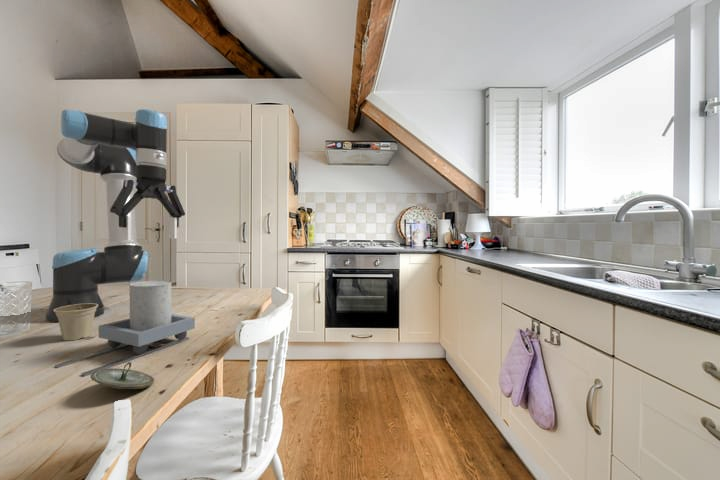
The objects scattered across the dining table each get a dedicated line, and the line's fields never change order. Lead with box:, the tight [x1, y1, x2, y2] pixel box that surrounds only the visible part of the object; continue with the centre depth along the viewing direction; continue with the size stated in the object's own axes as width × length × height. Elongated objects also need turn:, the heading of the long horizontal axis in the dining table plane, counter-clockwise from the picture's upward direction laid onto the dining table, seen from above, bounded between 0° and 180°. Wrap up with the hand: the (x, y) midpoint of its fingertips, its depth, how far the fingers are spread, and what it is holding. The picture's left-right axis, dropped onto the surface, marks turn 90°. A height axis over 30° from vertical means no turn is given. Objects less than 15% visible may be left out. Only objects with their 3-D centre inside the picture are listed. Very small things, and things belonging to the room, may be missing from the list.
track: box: [54, 336, 190, 377], centre depth 80 cm, size 11×25×1 cm, turn 158°
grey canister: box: [128, 279, 173, 332], centre depth 85 cm, size 10×10×12 cm
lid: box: [90, 361, 155, 390], centre depth 62 cm, size 11×10×5 cm
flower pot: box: [53, 303, 98, 341], centre depth 89 cm, size 9×9×9 cm
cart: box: [98, 313, 196, 354], centre depth 84 cm, size 15×15×6 cm
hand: (151, 239), depth 92 cm, fingers open, 13 cm apart
